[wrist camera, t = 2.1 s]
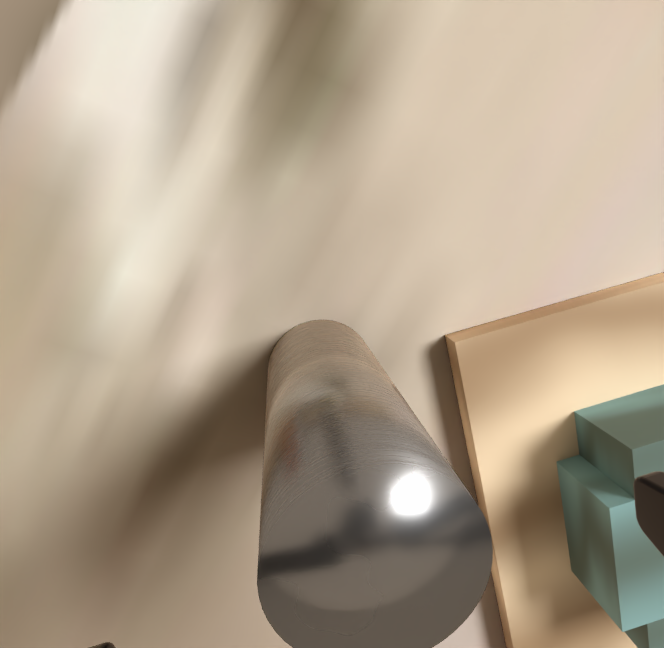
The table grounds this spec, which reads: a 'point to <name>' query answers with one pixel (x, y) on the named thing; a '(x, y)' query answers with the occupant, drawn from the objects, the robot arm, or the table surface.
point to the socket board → (539, 431)
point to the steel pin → (359, 506)
